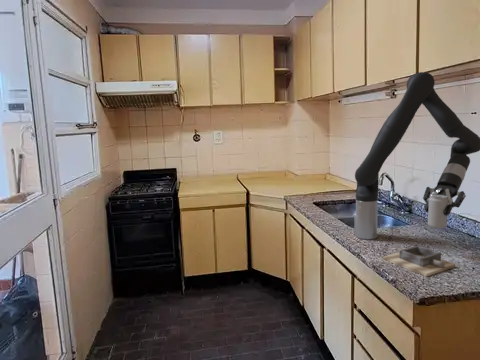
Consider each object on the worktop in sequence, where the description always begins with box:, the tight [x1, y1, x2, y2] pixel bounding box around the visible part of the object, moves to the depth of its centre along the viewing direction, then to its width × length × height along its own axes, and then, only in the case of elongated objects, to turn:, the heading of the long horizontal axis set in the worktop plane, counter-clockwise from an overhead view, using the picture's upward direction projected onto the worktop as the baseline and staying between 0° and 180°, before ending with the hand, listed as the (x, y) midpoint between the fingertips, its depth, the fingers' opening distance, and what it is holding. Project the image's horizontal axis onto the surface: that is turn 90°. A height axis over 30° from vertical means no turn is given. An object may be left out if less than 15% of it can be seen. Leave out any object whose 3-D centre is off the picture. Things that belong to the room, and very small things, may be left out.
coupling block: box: [382, 245, 456, 277], centre depth 128 cm, size 18×15×4 cm
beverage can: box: [427, 194, 448, 230], centre depth 133 cm, size 6×6×12 cm
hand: (435, 212), depth 132 cm, fingers closed on beverage can, 6 cm apart
